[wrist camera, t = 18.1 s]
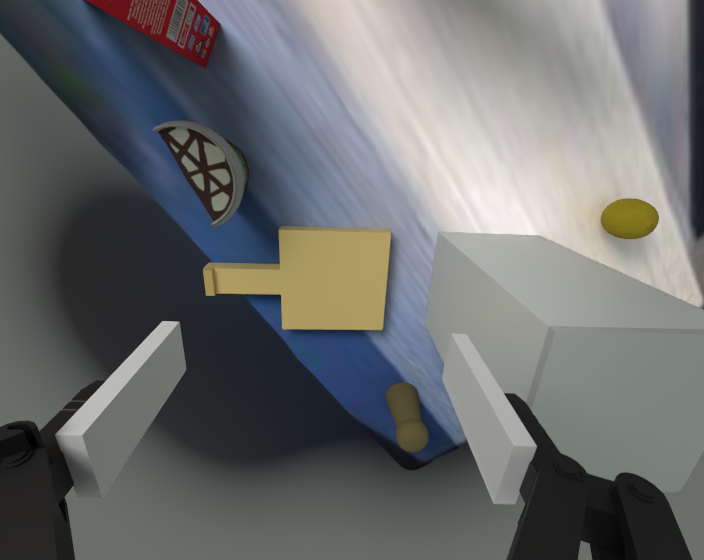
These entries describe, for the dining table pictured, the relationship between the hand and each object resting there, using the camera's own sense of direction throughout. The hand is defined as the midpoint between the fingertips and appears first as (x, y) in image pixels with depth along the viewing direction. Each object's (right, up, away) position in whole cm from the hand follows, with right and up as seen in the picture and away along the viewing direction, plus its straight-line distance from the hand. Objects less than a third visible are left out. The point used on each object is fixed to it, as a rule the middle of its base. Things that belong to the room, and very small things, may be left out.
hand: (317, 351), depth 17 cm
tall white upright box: (+22, +3, +39) cm, 45 cm away
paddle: (-7, +4, +37) cm, 38 cm away
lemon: (+41, +14, +36) cm, 56 cm away
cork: (+11, -18, +47) cm, 51 cm away
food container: (-15, +20, +30) cm, 39 cm away
